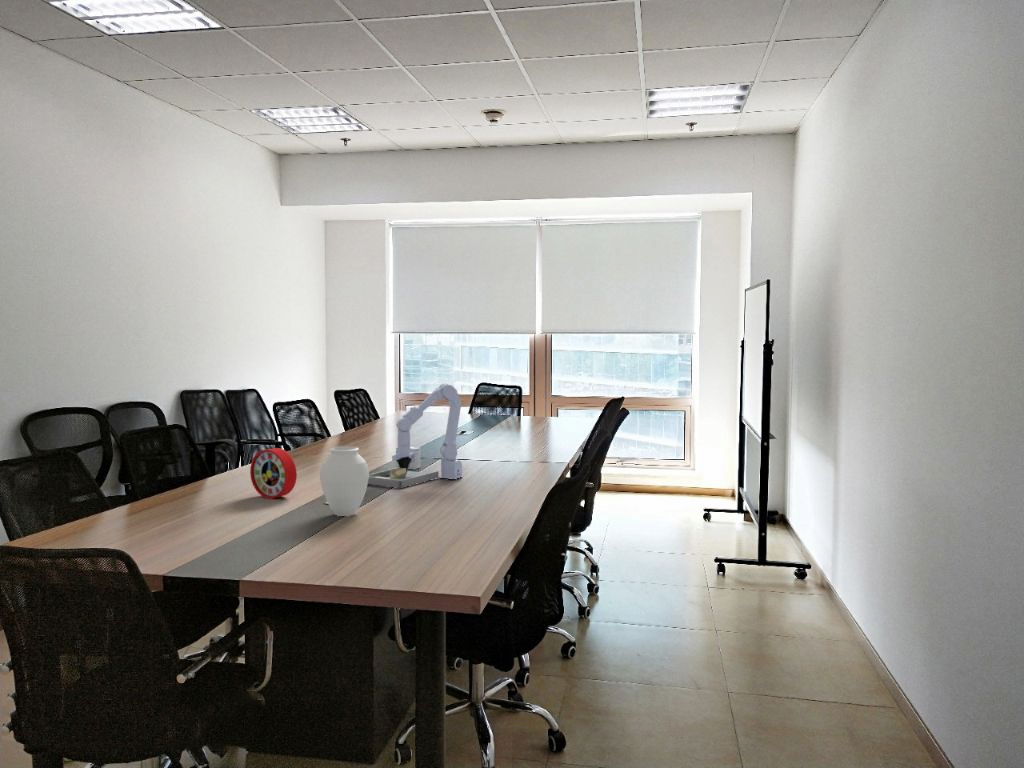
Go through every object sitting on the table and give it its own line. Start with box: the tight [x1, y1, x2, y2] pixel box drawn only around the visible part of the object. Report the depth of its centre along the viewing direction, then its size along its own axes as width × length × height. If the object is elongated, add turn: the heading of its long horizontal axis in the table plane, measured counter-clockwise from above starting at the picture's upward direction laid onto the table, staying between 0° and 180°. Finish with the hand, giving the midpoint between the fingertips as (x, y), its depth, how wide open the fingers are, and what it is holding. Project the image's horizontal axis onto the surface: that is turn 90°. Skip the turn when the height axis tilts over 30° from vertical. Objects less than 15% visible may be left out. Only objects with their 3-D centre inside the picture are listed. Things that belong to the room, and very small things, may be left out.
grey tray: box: [367, 467, 439, 489], centre depth 352 cm, size 22×28×4 cm
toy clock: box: [249, 447, 298, 499], centre depth 316 cm, size 20×6×20 cm, turn 62°
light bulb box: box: [395, 446, 421, 469], centre depth 385 cm, size 11×7×11 cm, turn 73°
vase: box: [319, 445, 370, 517], centre depth 286 cm, size 18×18×25 cm
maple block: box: [389, 467, 406, 479], centre depth 351 cm, size 5×5×4 cm
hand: (403, 473), depth 354 cm, fingers closed
